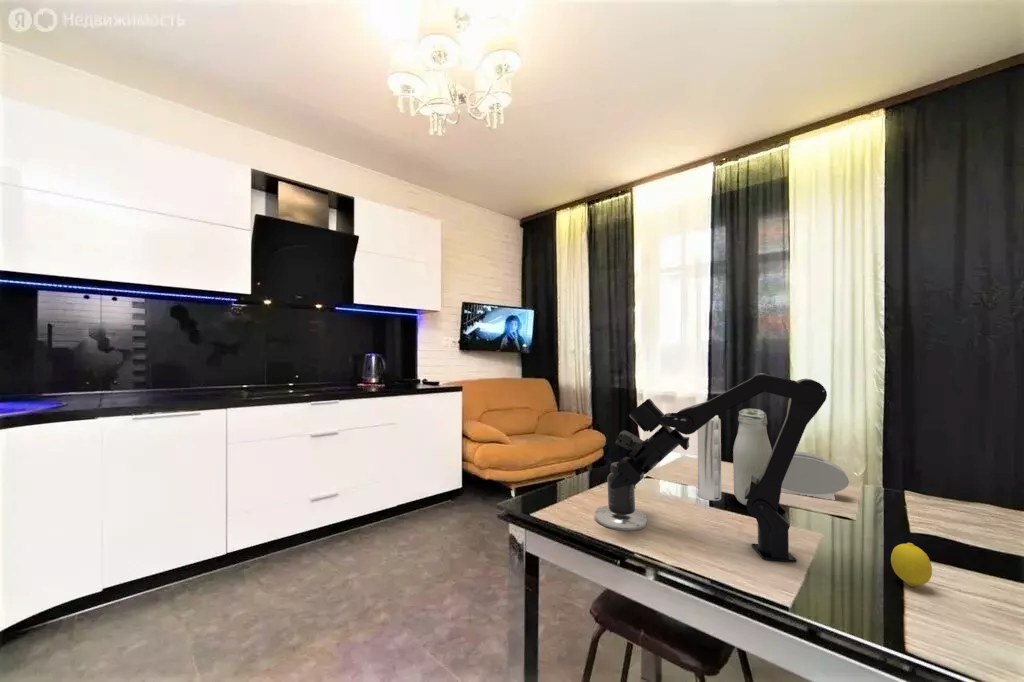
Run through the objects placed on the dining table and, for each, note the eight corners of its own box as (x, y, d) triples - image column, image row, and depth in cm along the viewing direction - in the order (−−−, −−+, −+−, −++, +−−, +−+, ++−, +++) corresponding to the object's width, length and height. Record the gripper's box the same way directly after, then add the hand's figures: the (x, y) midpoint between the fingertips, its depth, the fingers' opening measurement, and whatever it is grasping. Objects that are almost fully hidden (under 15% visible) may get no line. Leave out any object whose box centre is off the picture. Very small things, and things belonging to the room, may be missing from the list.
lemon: (910, 577, 79) (909, 536, 80) (941, 594, 74) (940, 549, 74) (883, 578, 79) (882, 536, 79) (912, 595, 74) (911, 550, 74)
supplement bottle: (626, 503, 110) (625, 459, 111) (640, 513, 104) (639, 466, 104) (603, 506, 109) (602, 462, 109) (616, 517, 102) (615, 469, 102)
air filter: (699, 499, 122) (698, 415, 123) (696, 492, 128) (695, 413, 129) (723, 501, 120) (722, 417, 121) (719, 494, 126) (718, 414, 127)
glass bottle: (734, 508, 115) (732, 409, 116) (733, 497, 124) (732, 405, 125) (775, 515, 110) (773, 411, 111) (771, 503, 119) (770, 407, 120)
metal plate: (650, 532, 99) (650, 526, 99) (596, 528, 101) (596, 522, 101) (642, 512, 111) (642, 506, 111) (594, 509, 113) (594, 503, 114)
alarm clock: (846, 497, 125) (845, 455, 125) (849, 503, 119) (848, 460, 120) (758, 483, 137) (758, 446, 138) (757, 488, 132) (757, 449, 133)
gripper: (644, 417, 113) (606, 452, 118) (624, 426, 97) (581, 467, 102) (674, 448, 108) (633, 484, 114) (659, 464, 92) (612, 504, 98)
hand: (615, 483), depth 107 cm, fingers closed on supplement bottle, 7 cm apart
